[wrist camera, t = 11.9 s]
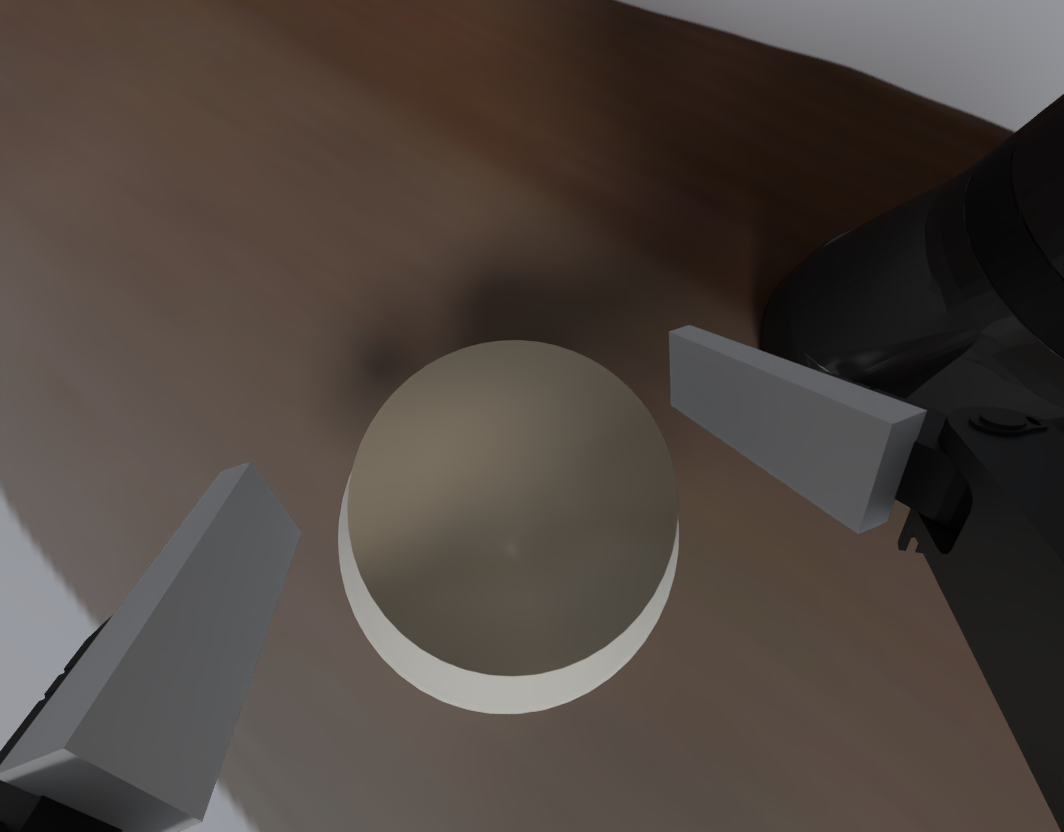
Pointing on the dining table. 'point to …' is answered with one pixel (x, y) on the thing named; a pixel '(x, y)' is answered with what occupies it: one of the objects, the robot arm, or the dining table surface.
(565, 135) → the dining table surface
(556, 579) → the jar
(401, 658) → the plate
